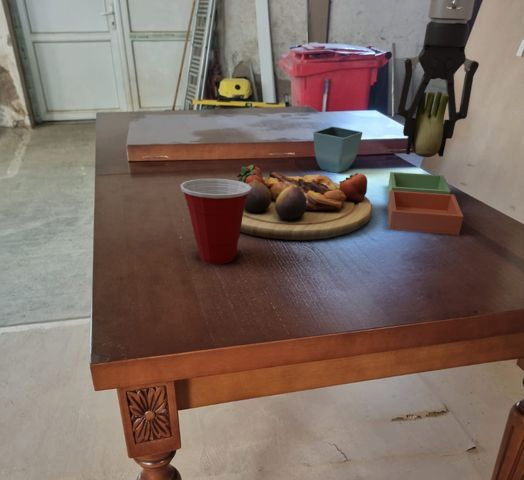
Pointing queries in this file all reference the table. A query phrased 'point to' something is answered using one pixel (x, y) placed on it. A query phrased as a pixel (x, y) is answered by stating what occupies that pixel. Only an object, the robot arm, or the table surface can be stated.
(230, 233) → the plastic cup
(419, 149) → the fennel bulb
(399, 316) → the table surface
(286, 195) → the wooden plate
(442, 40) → the robot arm
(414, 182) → the green bin
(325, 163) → the flower pot
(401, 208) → the terracotta bin
